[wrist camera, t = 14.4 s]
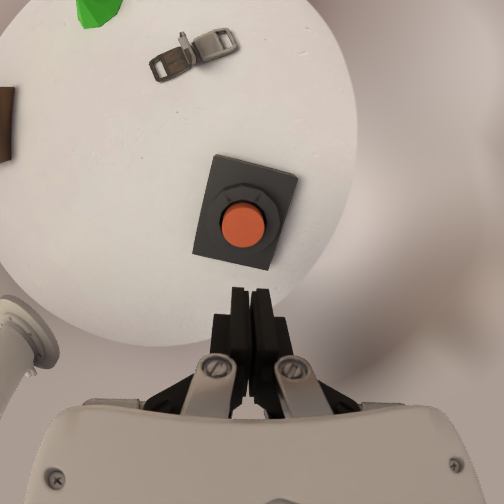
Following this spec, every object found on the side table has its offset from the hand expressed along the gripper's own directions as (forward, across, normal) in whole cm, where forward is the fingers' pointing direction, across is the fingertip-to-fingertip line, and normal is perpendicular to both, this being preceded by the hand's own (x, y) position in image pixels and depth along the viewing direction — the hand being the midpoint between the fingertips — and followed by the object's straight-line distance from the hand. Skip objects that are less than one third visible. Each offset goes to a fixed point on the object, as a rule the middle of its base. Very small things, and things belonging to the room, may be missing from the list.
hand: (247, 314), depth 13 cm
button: (+14, 0, 0) cm, 14 cm away
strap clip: (+17, +6, -16) cm, 24 cm away
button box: (+17, 0, 0) cm, 17 cm away
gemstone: (+17, +18, -24) cm, 35 cm away
